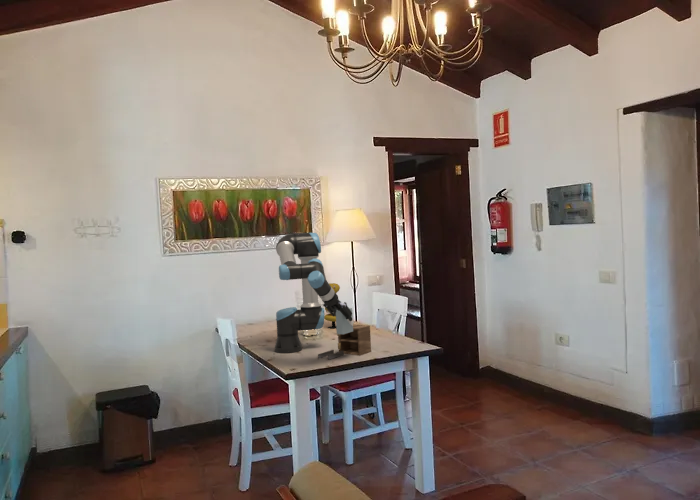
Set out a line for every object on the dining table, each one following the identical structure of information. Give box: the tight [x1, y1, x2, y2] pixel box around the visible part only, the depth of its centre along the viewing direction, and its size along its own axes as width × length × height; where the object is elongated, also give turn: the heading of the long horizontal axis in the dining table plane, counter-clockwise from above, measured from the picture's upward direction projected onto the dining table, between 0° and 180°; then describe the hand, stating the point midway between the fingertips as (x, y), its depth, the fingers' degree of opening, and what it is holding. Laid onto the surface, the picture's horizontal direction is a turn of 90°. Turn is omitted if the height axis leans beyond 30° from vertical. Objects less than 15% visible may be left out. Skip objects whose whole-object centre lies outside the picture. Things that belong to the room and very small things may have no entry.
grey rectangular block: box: [335, 307, 354, 335], centre depth 293 cm, size 4×9×12 cm, turn 145°
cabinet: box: [317, 323, 372, 360], centre depth 300 cm, size 17×24×14 cm
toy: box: [324, 282, 341, 330], centre depth 385 cm, size 16×12×30 cm
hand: (348, 323), depth 296 cm, fingers closed on grey rectangular block, 4 cm apart
